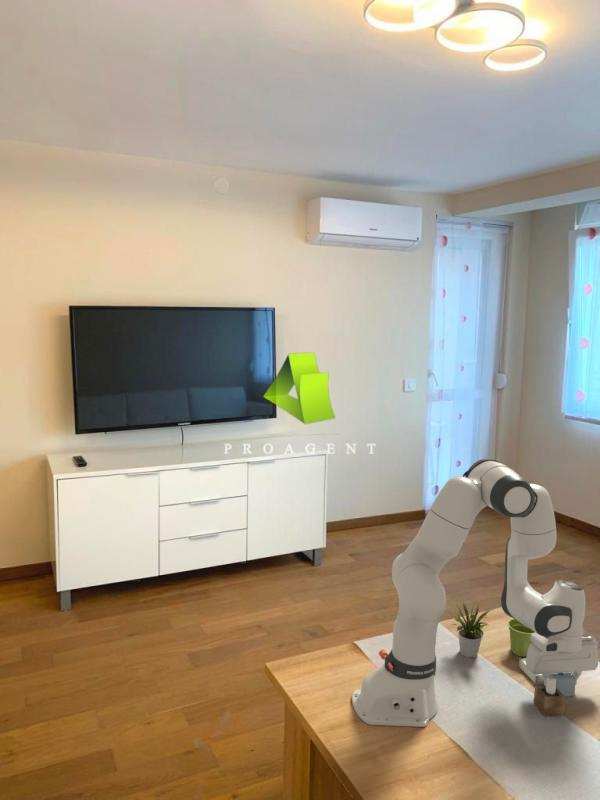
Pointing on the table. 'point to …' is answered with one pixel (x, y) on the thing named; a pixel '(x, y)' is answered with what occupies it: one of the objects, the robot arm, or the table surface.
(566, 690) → the slate-blue block
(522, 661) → the off-white tray
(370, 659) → the table surface
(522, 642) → the plant pot
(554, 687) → the pin gauge
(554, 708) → the walnut block
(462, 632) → the house plant
